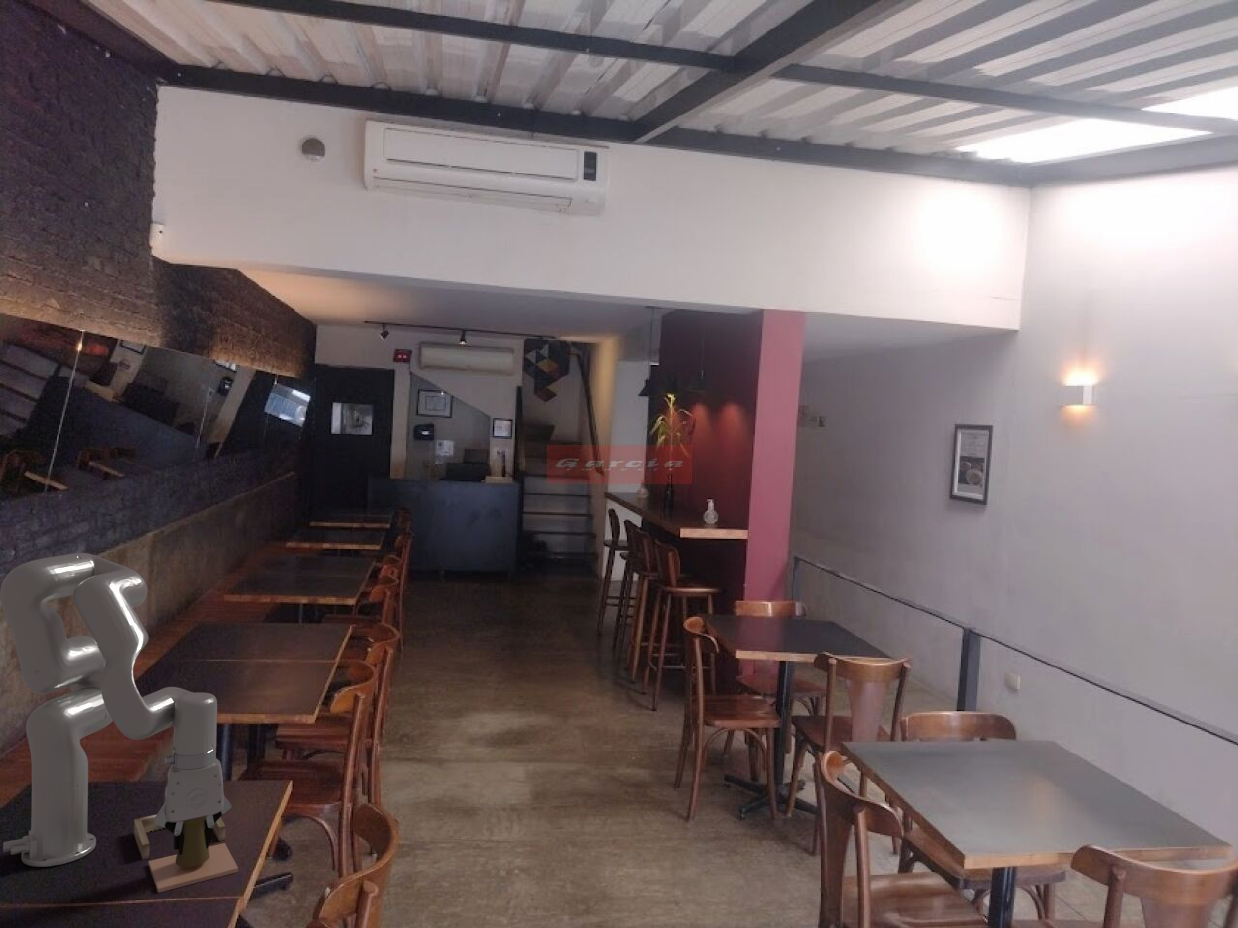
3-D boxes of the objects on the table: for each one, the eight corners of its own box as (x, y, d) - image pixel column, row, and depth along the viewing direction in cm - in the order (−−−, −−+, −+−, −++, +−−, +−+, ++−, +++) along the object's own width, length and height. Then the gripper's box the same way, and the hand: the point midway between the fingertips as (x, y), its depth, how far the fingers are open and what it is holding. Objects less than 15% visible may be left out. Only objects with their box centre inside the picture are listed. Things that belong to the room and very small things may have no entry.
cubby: (142, 859, 170) (142, 844, 170) (133, 832, 180) (133, 819, 180) (225, 839, 179) (225, 825, 179) (212, 815, 190) (212, 802, 189)
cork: (195, 868, 164) (196, 813, 163) (168, 864, 165) (169, 808, 164) (216, 853, 170) (217, 800, 169) (190, 849, 171) (191, 796, 170)
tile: (158, 892, 158) (158, 888, 158) (148, 864, 168) (148, 860, 168) (238, 871, 167) (238, 867, 167) (224, 846, 176) (224, 842, 176)
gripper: (149, 772, 158) (147, 868, 159) (244, 755, 168) (242, 845, 169) (143, 759, 164) (141, 851, 165) (235, 743, 174) (233, 830, 175)
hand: (192, 847), depth 167 cm, fingers closed on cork, 3 cm apart
